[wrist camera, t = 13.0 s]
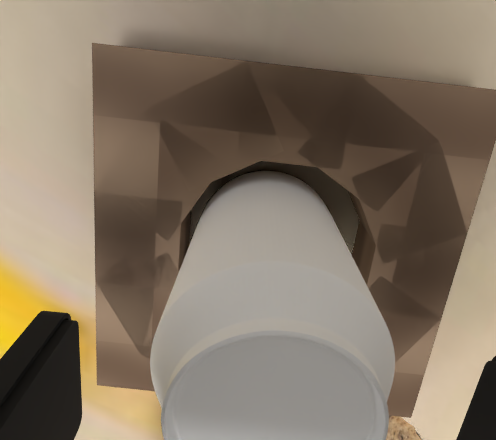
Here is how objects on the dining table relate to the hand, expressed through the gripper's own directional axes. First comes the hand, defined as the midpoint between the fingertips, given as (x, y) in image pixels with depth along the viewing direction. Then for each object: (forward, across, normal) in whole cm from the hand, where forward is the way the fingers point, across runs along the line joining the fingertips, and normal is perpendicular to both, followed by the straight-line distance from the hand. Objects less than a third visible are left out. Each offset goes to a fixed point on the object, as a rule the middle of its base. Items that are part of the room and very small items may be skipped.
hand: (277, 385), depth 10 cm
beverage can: (+11, 0, +1) cm, 11 cm away
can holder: (+11, 0, +1) cm, 11 cm away
